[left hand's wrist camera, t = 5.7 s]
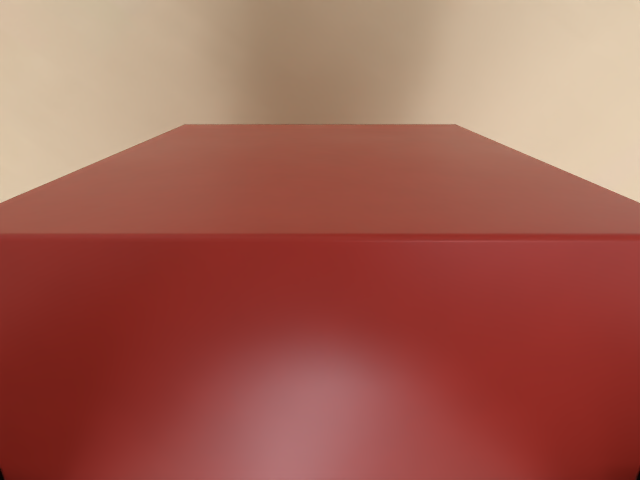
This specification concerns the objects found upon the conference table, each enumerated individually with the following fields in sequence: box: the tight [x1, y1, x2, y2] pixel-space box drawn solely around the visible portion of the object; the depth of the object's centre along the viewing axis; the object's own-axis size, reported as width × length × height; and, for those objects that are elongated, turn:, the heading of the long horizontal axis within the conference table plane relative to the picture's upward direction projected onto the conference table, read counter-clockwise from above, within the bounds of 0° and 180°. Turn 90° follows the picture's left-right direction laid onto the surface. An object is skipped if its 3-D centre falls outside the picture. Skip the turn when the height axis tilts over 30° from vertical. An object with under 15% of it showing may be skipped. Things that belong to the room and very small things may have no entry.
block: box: [0, 125, 640, 480], centre depth 11 cm, size 9×9×10 cm
